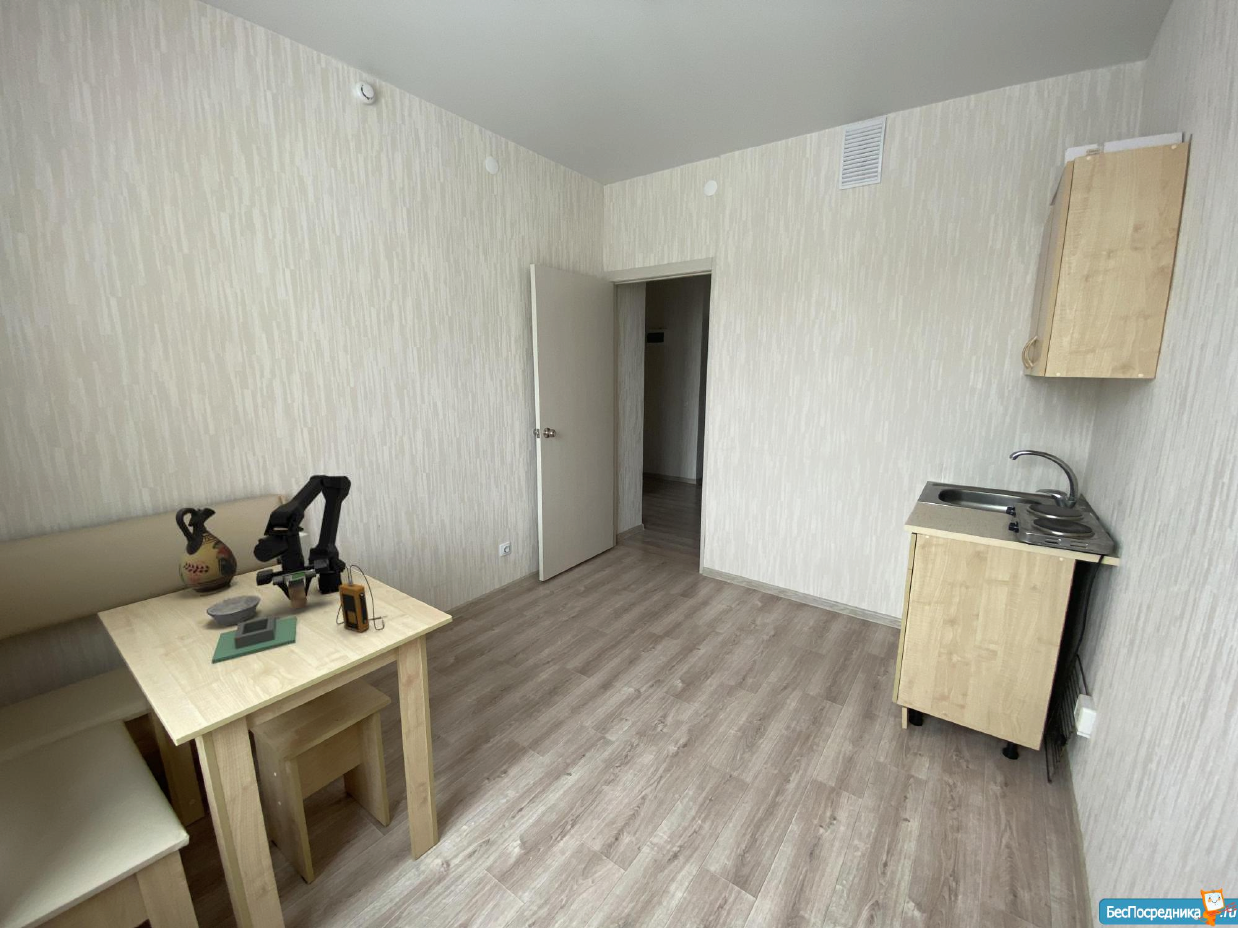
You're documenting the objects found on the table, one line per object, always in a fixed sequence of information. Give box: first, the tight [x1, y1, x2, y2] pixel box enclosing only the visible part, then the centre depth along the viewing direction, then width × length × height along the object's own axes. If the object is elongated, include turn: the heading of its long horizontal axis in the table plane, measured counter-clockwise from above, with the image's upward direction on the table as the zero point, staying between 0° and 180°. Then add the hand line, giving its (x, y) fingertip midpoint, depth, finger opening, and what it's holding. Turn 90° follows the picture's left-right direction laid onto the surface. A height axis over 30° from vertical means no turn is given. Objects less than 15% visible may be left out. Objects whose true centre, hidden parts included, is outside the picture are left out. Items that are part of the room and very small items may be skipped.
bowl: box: [206, 594, 261, 626], centre depth 154 cm, size 13×13×5 cm
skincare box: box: [280, 531, 311, 582], centre depth 184 cm, size 8×7×16 cm
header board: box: [211, 614, 297, 665], centre depth 141 cm, size 18×16×4 cm
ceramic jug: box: [175, 507, 238, 596], centre depth 173 cm, size 17×15×30 cm
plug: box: [287, 578, 308, 610], centre depth 157 cm, size 4×6×7 cm
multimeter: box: [335, 562, 387, 633], centre depth 147 cm, size 15×10×20 cm
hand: (298, 597), depth 158 cm, fingers closed on plug, 4 cm apart
